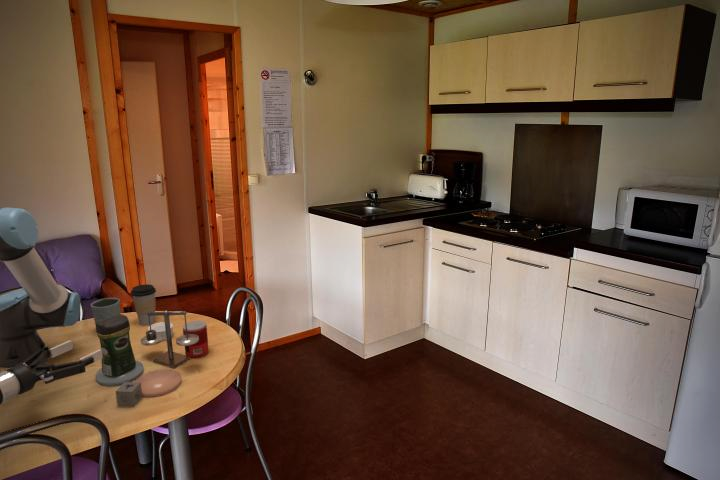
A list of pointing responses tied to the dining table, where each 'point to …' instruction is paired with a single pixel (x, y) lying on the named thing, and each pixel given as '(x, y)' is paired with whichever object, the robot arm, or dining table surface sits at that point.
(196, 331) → the canned food
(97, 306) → the grey-green ceramic planter
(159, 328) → the ramekin
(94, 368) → the dining table surface
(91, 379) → the dining table surface
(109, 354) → the coffee jar
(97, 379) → the slate dish
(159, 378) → the terracotta dish
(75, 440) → the dining table surface
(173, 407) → the dining table surface
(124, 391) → the dice cube
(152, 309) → the coffee cup
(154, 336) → the balance
